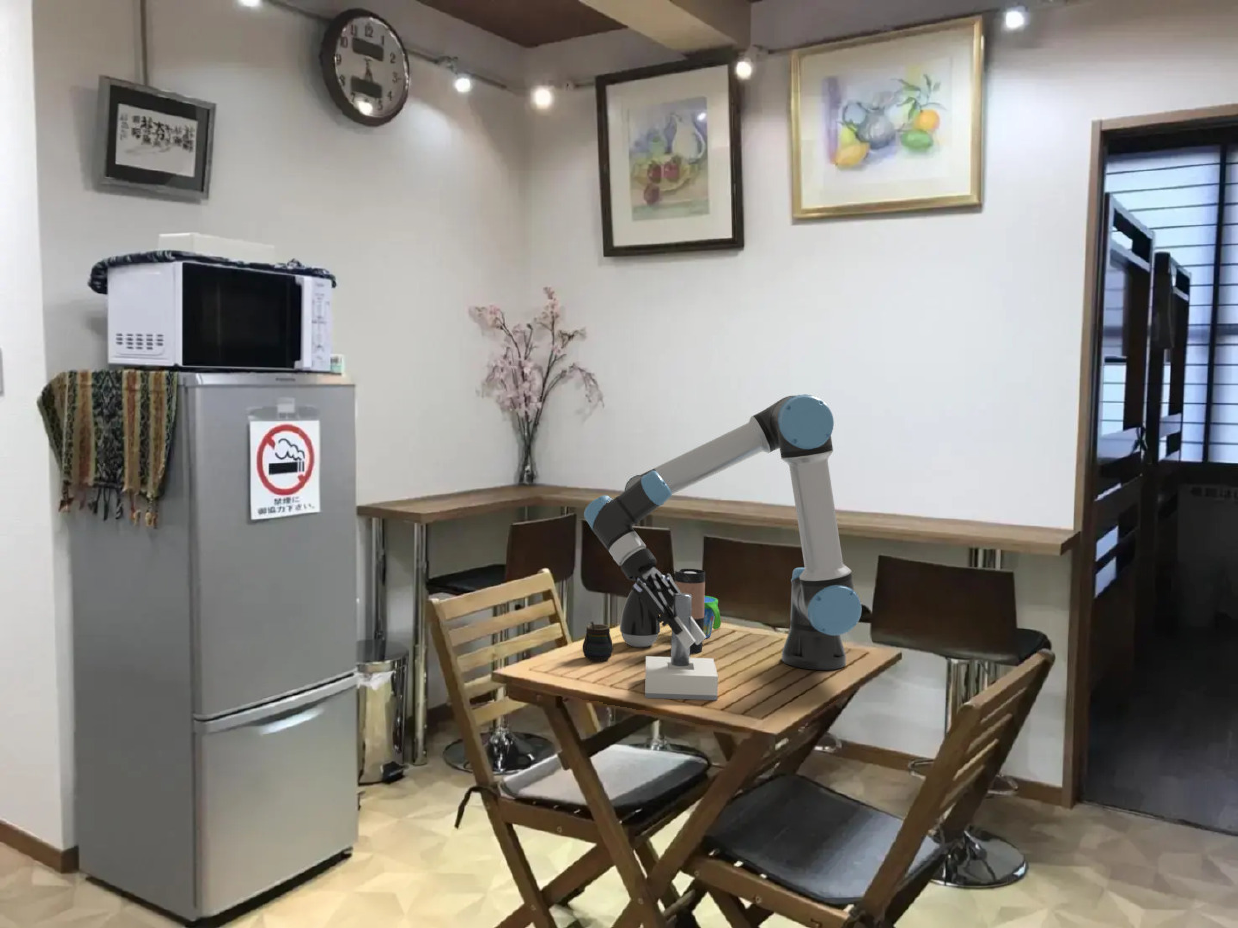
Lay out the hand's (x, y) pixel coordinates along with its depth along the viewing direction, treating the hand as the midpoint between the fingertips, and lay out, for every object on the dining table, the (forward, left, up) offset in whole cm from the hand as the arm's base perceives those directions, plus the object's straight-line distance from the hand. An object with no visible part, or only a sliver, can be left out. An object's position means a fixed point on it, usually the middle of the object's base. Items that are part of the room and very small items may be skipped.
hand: (696, 642), depth 213 cm
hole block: (+3, -2, -11) cm, 11 cm away
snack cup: (-3, -53, -11) cm, 54 cm away
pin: (+3, -2, -5) cm, 6 cm away
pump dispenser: (+12, -41, -11) cm, 44 cm away
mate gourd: (+22, -25, -11) cm, 35 cm away
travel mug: (0, -37, -11) cm, 39 cm away
